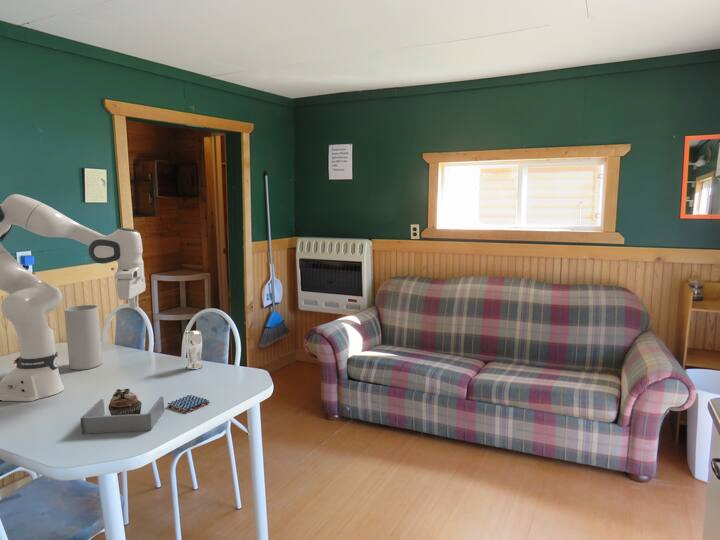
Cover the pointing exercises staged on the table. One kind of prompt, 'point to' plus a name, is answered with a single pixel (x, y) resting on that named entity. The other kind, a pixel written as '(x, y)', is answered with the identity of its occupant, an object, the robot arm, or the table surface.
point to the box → (120, 419)
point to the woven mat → (188, 403)
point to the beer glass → (193, 349)
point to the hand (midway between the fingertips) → (133, 307)
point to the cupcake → (124, 403)
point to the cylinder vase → (83, 337)
